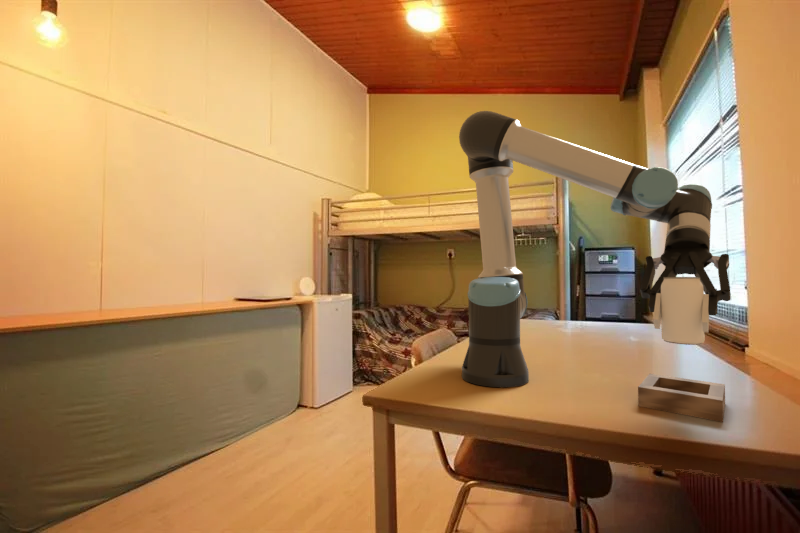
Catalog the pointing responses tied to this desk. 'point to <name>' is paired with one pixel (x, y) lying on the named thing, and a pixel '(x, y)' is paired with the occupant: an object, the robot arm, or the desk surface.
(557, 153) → the robot arm
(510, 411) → the desk surface
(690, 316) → the can
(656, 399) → the holder
